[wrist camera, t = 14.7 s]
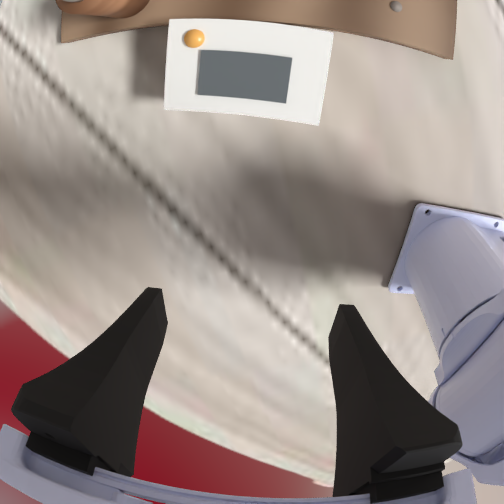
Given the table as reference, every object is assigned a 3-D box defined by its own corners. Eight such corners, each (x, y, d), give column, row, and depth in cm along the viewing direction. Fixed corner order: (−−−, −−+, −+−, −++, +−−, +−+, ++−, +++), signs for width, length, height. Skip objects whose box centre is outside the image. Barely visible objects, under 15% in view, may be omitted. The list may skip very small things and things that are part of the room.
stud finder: (324, 36, 15) (334, 32, 12) (312, 113, 18) (319, 126, 15) (187, 24, 15) (168, 19, 12) (182, 100, 18) (162, 110, 15)
